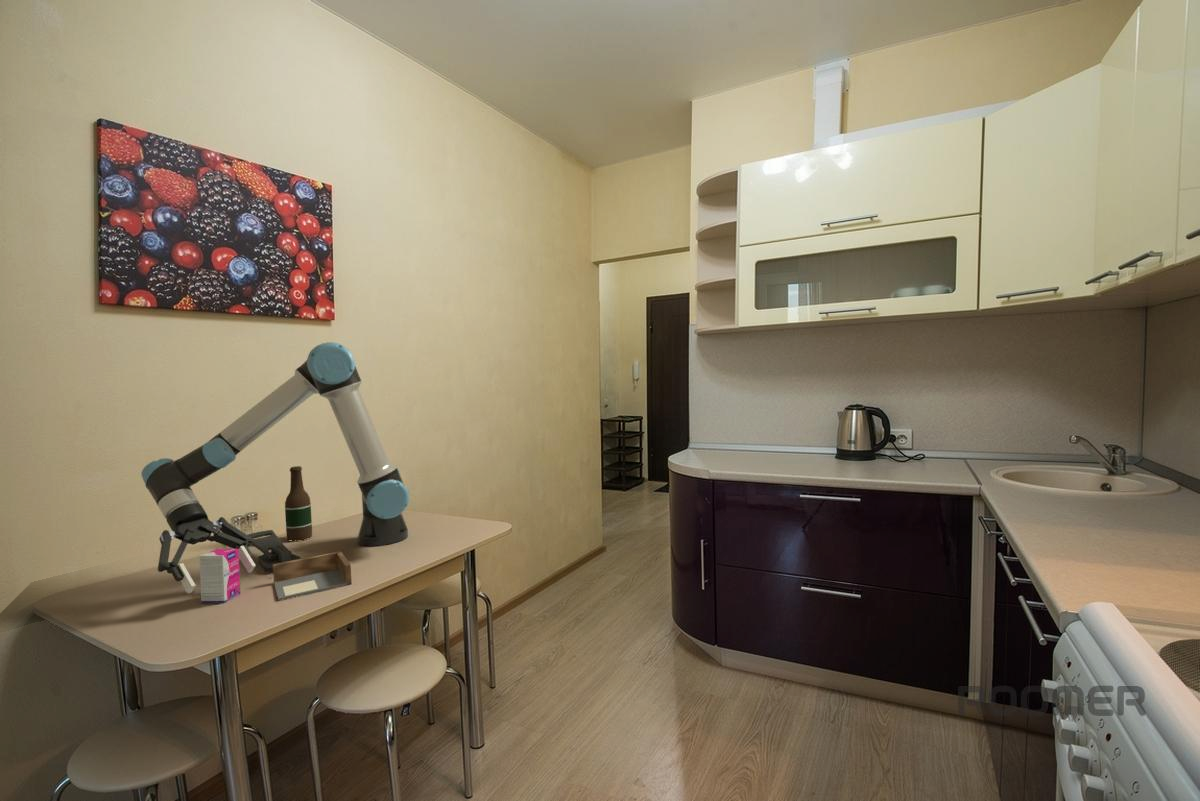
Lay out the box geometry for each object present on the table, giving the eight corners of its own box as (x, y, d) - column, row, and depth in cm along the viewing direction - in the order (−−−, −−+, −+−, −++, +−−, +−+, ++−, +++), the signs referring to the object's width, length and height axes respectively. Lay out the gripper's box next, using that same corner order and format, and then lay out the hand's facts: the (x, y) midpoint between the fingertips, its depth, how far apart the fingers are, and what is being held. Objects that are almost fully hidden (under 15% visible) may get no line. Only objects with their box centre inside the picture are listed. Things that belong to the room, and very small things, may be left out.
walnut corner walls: (341, 569, 147) (340, 551, 147) (351, 584, 135) (350, 564, 135) (273, 583, 138) (272, 564, 137) (278, 601, 126) (277, 580, 126)
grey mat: (341, 569, 147) (341, 566, 147) (351, 584, 135) (351, 581, 135) (273, 583, 138) (273, 580, 138) (278, 601, 126) (278, 598, 126)
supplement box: (225, 603, 126) (222, 555, 125) (200, 604, 126) (197, 556, 125) (242, 593, 132) (239, 547, 131) (218, 594, 132) (215, 548, 131)
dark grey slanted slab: (273, 528, 167) (303, 543, 150) (275, 549, 167) (305, 566, 150) (240, 535, 160) (267, 551, 143) (241, 557, 160) (269, 576, 144)
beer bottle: (316, 537, 178) (312, 466, 177) (290, 543, 172) (286, 469, 171) (308, 533, 183) (304, 464, 182) (283, 539, 178) (278, 467, 176)
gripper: (230, 509, 146) (268, 570, 140) (116, 535, 123) (156, 609, 118) (240, 491, 144) (280, 553, 138) (127, 514, 121) (168, 588, 115)
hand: (223, 579), depth 128 cm, fingers open, 13 cm apart
